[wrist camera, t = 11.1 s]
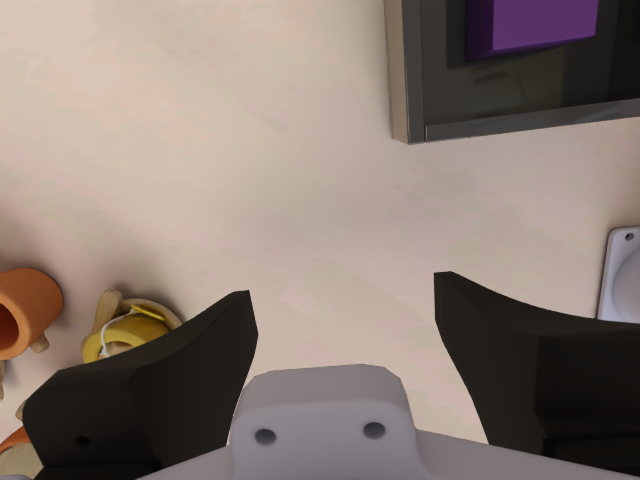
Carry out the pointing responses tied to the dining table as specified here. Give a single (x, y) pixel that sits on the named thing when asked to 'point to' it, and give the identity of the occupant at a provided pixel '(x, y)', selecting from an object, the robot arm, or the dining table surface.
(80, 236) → the dining table surface
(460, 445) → the robot arm
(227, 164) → the dining table surface
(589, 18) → the candy bar
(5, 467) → the toy tea set
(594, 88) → the sink
